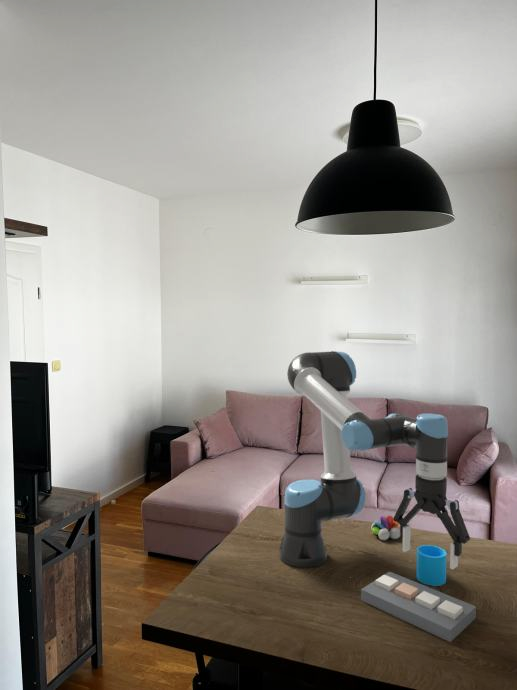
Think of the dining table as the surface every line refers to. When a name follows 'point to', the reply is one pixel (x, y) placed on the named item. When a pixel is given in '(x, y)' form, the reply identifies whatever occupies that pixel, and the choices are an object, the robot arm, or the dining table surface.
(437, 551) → the mug
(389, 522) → the multicoloured ball cluster
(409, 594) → the key
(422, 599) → the key
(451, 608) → the key
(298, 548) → the robot arm
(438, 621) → the keypad
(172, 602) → the dining table surface
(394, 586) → the key
